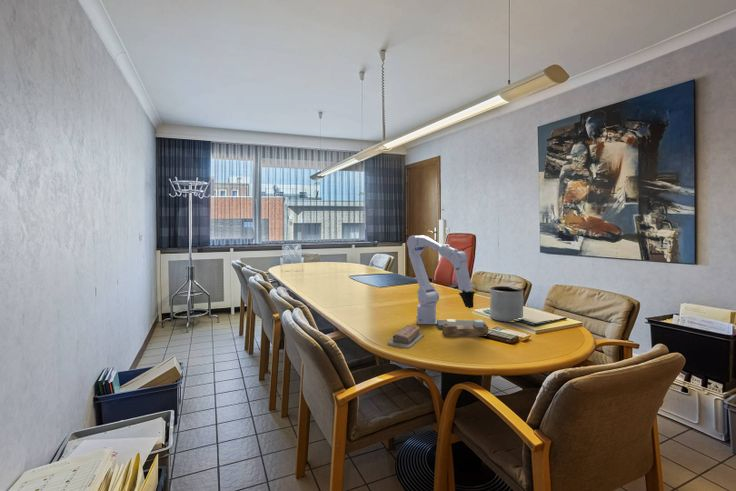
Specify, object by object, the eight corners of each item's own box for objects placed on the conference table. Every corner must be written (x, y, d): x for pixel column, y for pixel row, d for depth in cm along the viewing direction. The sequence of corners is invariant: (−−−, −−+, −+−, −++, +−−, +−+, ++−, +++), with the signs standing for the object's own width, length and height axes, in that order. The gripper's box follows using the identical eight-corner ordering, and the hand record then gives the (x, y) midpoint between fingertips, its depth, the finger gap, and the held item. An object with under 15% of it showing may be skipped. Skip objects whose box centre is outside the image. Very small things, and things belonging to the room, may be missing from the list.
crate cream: (447, 328, 163) (447, 321, 162) (446, 325, 167) (446, 319, 166) (455, 328, 162) (455, 321, 162) (454, 325, 166) (454, 319, 166)
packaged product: (403, 323, 167) (424, 326, 162) (403, 333, 167) (424, 336, 163) (386, 334, 151) (409, 337, 146) (386, 345, 151) (409, 349, 147)
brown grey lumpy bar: (443, 336, 162) (443, 325, 162) (442, 332, 168) (442, 322, 167) (488, 337, 160) (488, 326, 160) (485, 333, 166) (485, 323, 165)
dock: (438, 329, 172) (438, 324, 172) (436, 323, 182) (436, 319, 181) (487, 330, 169) (487, 326, 169) (482, 324, 179) (482, 320, 179)
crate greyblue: (475, 328, 161) (475, 322, 161) (473, 326, 165) (473, 319, 165) (483, 328, 161) (483, 322, 161) (481, 326, 165) (481, 319, 165)
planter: (498, 313, 200) (498, 284, 199) (528, 318, 189) (528, 288, 188) (484, 318, 189) (484, 288, 188) (514, 325, 178) (515, 293, 177)
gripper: (474, 275, 160) (481, 306, 158) (469, 276, 174) (475, 304, 172) (458, 278, 160) (465, 309, 158) (454, 279, 174) (460, 307, 173)
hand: (469, 307), depth 165 cm, fingers open, 7 cm apart
